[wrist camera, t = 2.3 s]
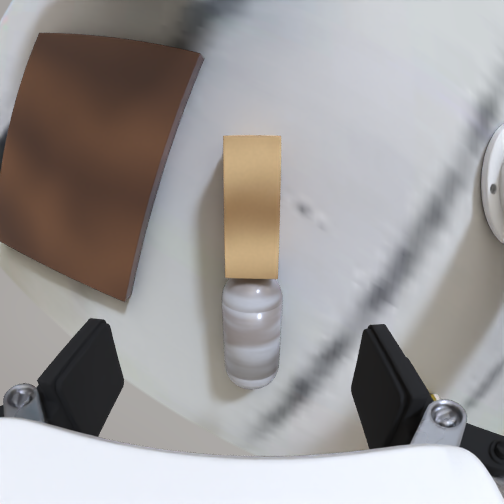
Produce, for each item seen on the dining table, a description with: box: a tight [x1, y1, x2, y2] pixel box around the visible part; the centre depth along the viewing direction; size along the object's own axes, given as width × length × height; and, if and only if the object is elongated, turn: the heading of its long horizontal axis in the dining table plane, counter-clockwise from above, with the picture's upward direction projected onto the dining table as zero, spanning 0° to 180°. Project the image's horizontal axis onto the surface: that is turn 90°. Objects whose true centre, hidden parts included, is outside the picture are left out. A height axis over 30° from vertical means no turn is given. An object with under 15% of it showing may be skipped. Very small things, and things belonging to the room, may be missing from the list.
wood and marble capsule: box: [222, 135, 283, 389], centre depth 23 cm, size 20×4×4 cm, turn 0°
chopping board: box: [0, 33, 204, 302], centre depth 22 cm, size 20×16×2 cm
